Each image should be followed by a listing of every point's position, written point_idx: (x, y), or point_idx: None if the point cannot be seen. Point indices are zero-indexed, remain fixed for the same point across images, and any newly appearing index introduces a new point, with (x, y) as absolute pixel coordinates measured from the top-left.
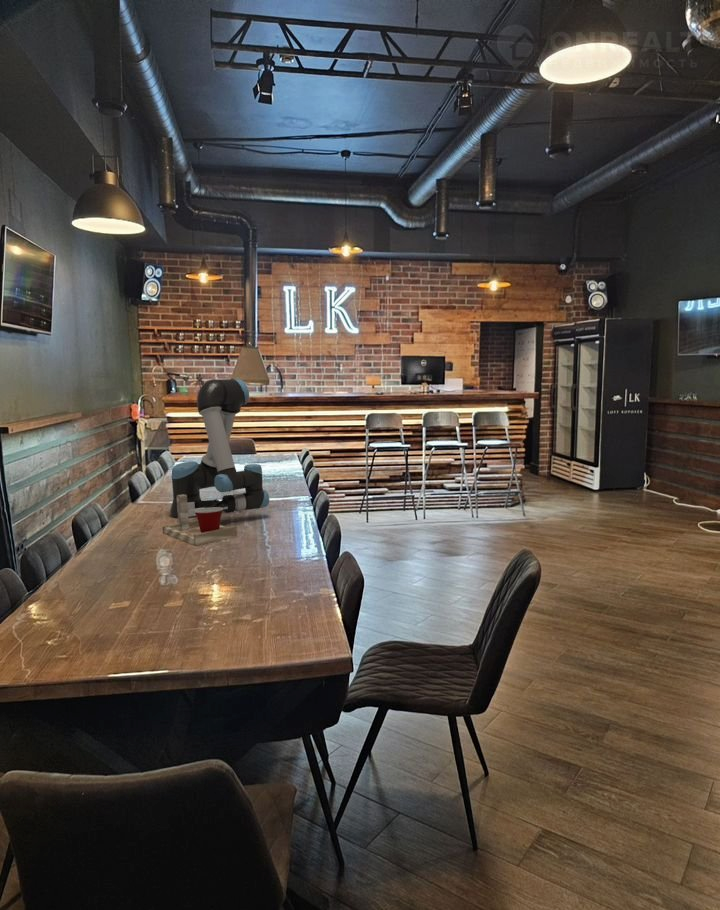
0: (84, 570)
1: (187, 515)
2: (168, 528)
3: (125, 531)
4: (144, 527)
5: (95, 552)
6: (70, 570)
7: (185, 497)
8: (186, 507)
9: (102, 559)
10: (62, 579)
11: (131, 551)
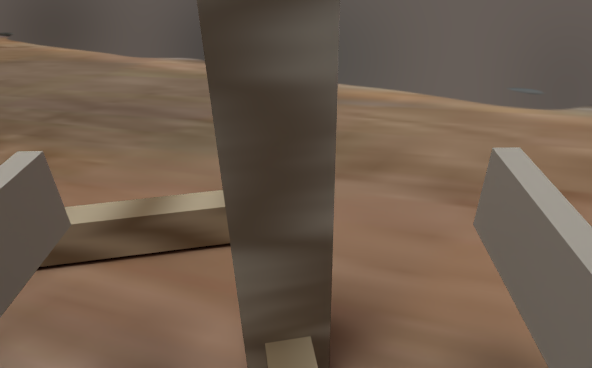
0: (41, 63)
1: (235, 271)
2: (195, 197)
3: (441, 132)
4: None
5: (184, 77)
6: (77, 55)
7: (198, 5)
8: (222, 173)
9: (89, 80)
10: (30, 49)
11: (82, 117)
